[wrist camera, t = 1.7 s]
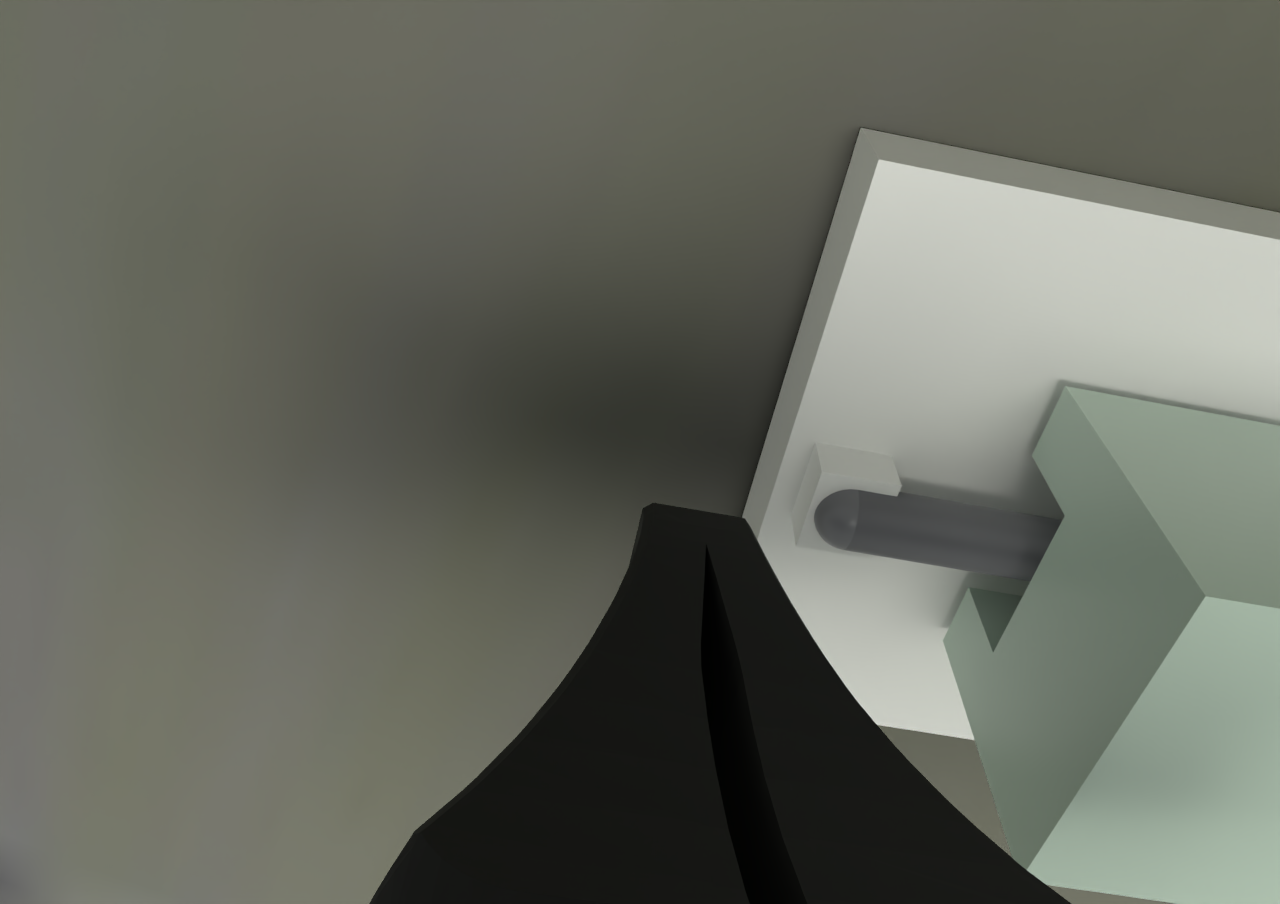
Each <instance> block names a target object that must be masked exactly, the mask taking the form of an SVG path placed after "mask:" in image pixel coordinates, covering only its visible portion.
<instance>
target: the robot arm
mask: <svg viewBox="0 0 1280 904" xmlns="http://www.w3.org/2000/svg"><path fill="white" fill-rule="evenodd" d="M370 904H1071V903H1070V902H1068V901H1067V900H1066V899H1064V898H1063V897H1062V896H1060V895H1059V894H1058V893H1056V892H1055V891H1054V890H1052V889H1051V888H1050V887H1048V886H1047V885H1046V884H1044V883H1043V882H1042V881H1040V880H1039V879H1038V878H1037V877H1035V876H1034V875H1033V874H1031V873H1030V872H1029V871H1027V870H1026V869H1025V868H1024V867H1022V866H1021V865H1020V864H1019V863H1017V862H1016V861H1015V860H1014V859H1013V858H1012V857H1010V856H1009V855H1008V854H1007V853H1006V852H1005V851H1003V850H1002V849H1001V848H1000V847H999V846H998V845H996V844H995V843H994V842H993V841H992V840H991V839H989V838H988V837H987V836H986V835H985V834H984V833H983V832H981V831H980V830H979V829H978V828H977V827H976V826H975V825H973V824H972V823H971V822H970V821H969V820H968V819H967V818H966V817H965V816H964V815H963V814H962V813H960V812H959V811H958V810H957V809H956V808H955V807H954V806H953V805H952V804H951V803H950V802H949V801H948V800H947V799H946V798H945V797H944V796H943V795H942V794H941V793H940V792H939V791H938V790H937V789H936V788H935V787H934V786H933V785H932V784H931V783H930V782H929V781H928V780H927V779H926V778H925V777H924V776H923V775H922V774H921V773H920V772H919V771H918V770H917V769H916V768H915V767H914V766H913V765H912V764H911V763H910V762H909V761H908V760H907V759H906V758H905V756H904V755H903V754H902V753H901V752H900V751H899V750H898V749H897V748H896V747H895V746H894V744H893V743H892V742H891V741H890V740H889V739H888V738H887V736H886V735H885V734H884V733H883V732H882V730H881V729H880V728H879V727H878V726H877V724H876V723H875V722H874V721H873V720H872V718H871V717H870V716H869V715H868V714H867V713H866V711H865V710H864V709H863V708H862V707H861V705H860V704H859V703H858V702H857V700H856V699H855V698H854V696H853V695H852V694H851V692H850V691H849V690H848V688H847V687H846V686H845V684H844V683H843V681H842V680H841V679H840V677H839V676H838V674H837V673H836V671H835V670H834V669H833V667H832V666H831V664H830V663H829V661H828V660H827V659H826V657H825V656H824V654H823V653H822V651H821V649H820V648H819V646H818V645H817V643H816V642H815V640H814V639H813V637H812V636H811V634H810V632H809V631H808V629H807V627H806V626H805V624H804V623H803V621H802V619H801V618H800V616H799V614H798V613H797V611H796V609H795V608H794V606H793V605H792V603H791V601H790V599H789V598H788V596H787V594H786V592H785V591H784V589H783V587H782V585H781V584H780V582H779V580H778V578H777V576H776V574H775V573H774V571H773V569H772V567H771V565H770V563H769V562H768V560H767V558H766V556H765V554H764V552H763V550H762V548H761V546H760V544H759V542H758V540H757V538H756V536H755V535H754V533H753V531H752V529H751V527H750V525H749V524H748V522H747V521H746V519H745V518H740V517H734V516H728V515H722V514H716V513H710V512H704V511H698V510H692V509H687V508H681V507H675V506H669V505H663V504H657V503H652V504H650V505H648V506H646V507H645V508H643V510H642V514H641V518H640V522H639V527H638V531H637V535H636V539H635V544H634V548H633V552H632V556H631V561H630V565H629V568H628V570H627V572H626V574H625V577H624V579H623V581H622V583H621V585H620V587H619V590H618V592H617V594H616V596H615V598H614V600H613V602H612V604H611V606H610V607H609V609H608V611H607V613H606V614H605V616H604V618H603V619H602V621H601V623H600V625H599V626H598V628H597V630H596V631H595V633H594V635H593V637H592V638H591V640H590V642H589V643H588V645H587V646H586V648H585V649H584V651H583V652H582V654H581V655H580V657H579V658H578V660H577V661H576V663H575V664H574V666H573V667H572V669H571V670H570V671H569V673H568V674H567V675H566V677H565V678H564V679H563V681H562V682H561V684H560V685H559V686H558V688H557V689H556V690H555V692H554V693H553V694H552V695H551V696H550V698H549V699H548V700H547V701H546V703H545V704H544V705H543V706H542V708H541V709H540V710H539V711H538V712H537V714H536V715H535V716H534V717H533V719H532V720H531V721H530V722H529V723H528V724H527V726H526V727H525V728H524V729H523V730H522V731H521V732H520V733H519V735H518V736H517V737H516V738H515V739H514V740H513V741H512V742H511V743H510V744H509V745H508V746H507V747H506V748H505V749H504V750H503V751H502V752H501V753H500V754H499V755H498V756H497V757H496V758H495V759H494V760H493V761H492V762H491V763H490V764H489V765H488V766H487V767H486V768H485V769H484V770H483V771H482V772H481V773H480V775H479V776H478V777H477V778H476V779H474V780H473V781H472V782H471V783H470V784H469V785H468V786H467V787H466V788H465V789H464V790H463V791H461V792H460V793H459V794H458V795H457V796H455V797H454V798H453V799H452V800H451V801H450V802H448V803H447V804H446V805H445V806H444V807H442V808H441V809H440V810H439V811H438V812H437V813H435V814H434V815H433V816H432V817H431V818H430V819H428V820H427V821H426V822H425V823H424V824H422V825H421V826H420V827H419V828H418V829H417V830H415V831H414V833H413V835H412V836H411V838H410V839H409V841H408V842H407V844H406V845H405V847H404V848H403V850H402V851H401V853H400V855H399V856H398V858H397V859H396V861H395V862H394V864H393V865H392V867H391V868H390V870H389V872H388V873H387V875H386V876H385V878H384V880H383V881H382V883H381V885H380V886H379V888H378V890H377V891H376V893H375V895H374V896H373V898H372V900H371V902H370Z"/></svg>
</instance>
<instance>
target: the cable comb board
mask: <svg viewBox="0 0 1280 904" xmlns="http://www.w3.org/2000/svg"><path fill="white" fill-rule="evenodd" d="M1065 386H1068V387H1073V388H1079V389H1084V390H1090V391H1095V392H1100V393H1106V394H1111V395H1116V396H1122V397H1127V398H1133V399H1138V400H1143V401H1149V402H1154V403H1160V404H1165V405H1170V406H1176V407H1181V408H1187V409H1192V410H1197V411H1203V412H1208V413H1214V414H1219V415H1224V416H1230V417H1235V418H1241V419H1246V420H1251V421H1257V422H1262V423H1268V424H1273V425H1278V426H1280V213H1279V212H1274V211H1269V210H1264V209H1259V208H1254V207H1250V206H1245V205H1240V204H1235V203H1230V202H1225V201H1220V200H1215V199H1210V198H1205V197H1200V196H1195V195H1190V194H1185V193H1181V192H1176V191H1171V190H1166V189H1161V188H1156V187H1151V186H1146V185H1141V184H1136V183H1131V182H1126V181H1121V180H1116V179H1112V178H1107V177H1102V176H1097V175H1092V174H1087V173H1082V172H1077V171H1072V170H1067V169H1062V168H1057V167H1052V166H1048V165H1043V164H1038V163H1033V162H1028V161H1023V160H1018V159H1013V158H1008V157H1003V156H998V155H993V154H988V153H983V152H979V151H974V150H969V149H964V148H959V147H954V146H949V145H944V144H939V143H934V142H929V141H924V140H919V139H914V138H910V137H905V136H900V135H895V134H890V133H885V132H880V131H875V130H870V129H865V128H860V131H859V135H858V138H857V141H856V144H855V148H854V151H853V154H852V158H851V161H850V164H849V167H848V171H847V174H846V177H845V181H844V184H843V187H842V190H841V194H840V197H839V200H838V204H837V207H836V210H835V213H834V217H833V220H832V223H831V227H830V230H829V233H828V236H827V240H826V243H825V246H824V249H823V253H822V256H821V259H820V263H819V266H818V269H817V272H816V276H815V279H814V282H813V286H812V289H811V292H810V295H809V299H808V302H807V305H806V309H805V312H804V315H803V318H802V322H801V325H800V328H799V332H798V335H797V338H796V341H795V345H794V348H793V351H792V355H791V358H790V361H789V364H788V368H787V371H786V374H785V378H784V381H783V384H782V387H781V391H780V394H779V397H778V401H777V404H776V407H775V410H774V414H773V417H772V420H771V424H770V427H769V430H768V433H767V437H766V440H765V443H764V447H763V450H762V453H761V456H760V460H759V463H758V466H757V470H756V473H755V476H754V479H753V483H752V486H751V489H750V492H749V496H748V499H747V502H746V506H745V509H744V512H743V515H742V518H745V519H746V521H747V522H748V524H749V525H750V527H751V529H752V531H753V533H754V535H755V536H756V538H757V540H758V542H759V544H760V546H761V548H762V550H763V552H764V554H765V556H766V558H767V560H768V562H769V563H770V565H771V567H772V569H773V571H774V573H775V574H776V576H777V578H778V580H779V582H780V584H781V585H782V587H783V589H784V591H785V592H786V594H787V596H788V598H789V599H790V601H791V603H792V605H793V606H794V608H795V609H796V611H797V613H798V614H799V616H800V618H801V619H802V621H803V623H804V624H805V626H806V627H807V629H808V631H809V632H810V634H811V636H812V637H813V639H814V640H815V642H816V643H817V645H818V646H819V648H820V649H821V651H822V653H823V654H824V656H825V657H826V659H827V660H828V661H829V663H830V664H831V666H832V667H833V669H834V670H835V671H836V673H837V674H838V676H839V677H840V679H841V680H842V681H843V683H844V684H845V686H846V687H847V688H848V690H849V691H850V692H851V694H852V695H853V696H854V698H855V699H856V700H857V702H858V703H859V704H860V705H861V707H862V708H863V709H864V710H865V711H866V713H867V714H868V715H869V716H870V717H871V718H872V720H873V721H874V722H875V723H876V724H877V725H881V726H888V727H894V728H901V729H907V730H914V731H920V732H926V733H933V734H939V735H946V736H952V737H958V738H965V739H971V740H974V736H973V733H972V730H971V727H970V724H969V721H968V718H967V715H966V711H965V708H964V705H963V702H962V699H961V696H960V693H959V690H958V686H957V683H956V680H955V677H954V674H953V671H952V668H951V665H950V661H949V658H948V655H947V652H946V649H945V646H944V643H943V639H944V637H945V635H946V633H947V631H948V629H949V627H950V625H951V623H952V620H953V618H954V616H955V614H956V612H957V610H958V608H959V606H960V604H961V602H962V600H963V598H964V595H965V593H966V591H967V589H968V587H971V588H977V589H983V590H989V591H995V592H1001V593H1007V594H1012V595H1018V596H1023V595H1024V593H1025V591H1026V589H1027V587H1028V585H1029V583H1030V581H1031V579H1032V577H1033V575H1034V574H1035V572H1036V570H1037V568H1038V566H1039V564H1040V562H1041V560H1042V558H1043V556H1044V554H1045V553H1046V551H1047V549H1048V547H1049V545H1050V543H1051V541H1052V539H1053V537H1054V535H1055V533H1056V531H1057V530H1058V528H1059V526H1060V524H1061V522H1062V520H1063V518H1064V516H1065V515H1064V513H1063V512H1062V510H1061V508H1060V506H1059V504H1058V502H1057V501H1056V499H1055V497H1054V495H1053V493H1052V491H1051V490H1050V488H1049V486H1048V484H1047V482H1046V481H1045V479H1044V477H1043V475H1042V473H1041V471H1040V470H1039V468H1038V466H1037V464H1036V462H1035V460H1034V459H1033V457H1032V454H1033V452H1034V450H1035V448H1036V446H1037V444H1038V441H1039V439H1040V437H1041V435H1042V433H1043V431H1044V429H1045V427H1046V425H1047V423H1048V421H1049V419H1050V417H1051V414H1052V412H1053V410H1054V408H1055V406H1056V404H1057V402H1058V400H1059V398H1060V396H1061V394H1062V392H1063V389H1064V387H1065Z"/></svg>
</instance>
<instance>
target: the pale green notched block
mask: <svg viewBox="0 0 1280 904" xmlns="http://www.w3.org/2000/svg"><path fill="white" fill-rule="evenodd" d="M1032 457H1033V459H1034V460H1035V462H1036V464H1037V466H1038V468H1039V470H1040V471H1041V473H1042V475H1043V477H1044V479H1045V481H1046V482H1047V484H1048V486H1049V488H1050V490H1051V491H1052V493H1053V495H1054V497H1055V499H1056V501H1057V502H1058V504H1059V506H1060V508H1061V510H1062V512H1063V513H1064V515H1065V516H1064V518H1063V520H1062V522H1061V524H1060V526H1059V528H1058V530H1057V531H1056V533H1055V535H1054V537H1053V539H1052V541H1051V543H1050V545H1049V547H1048V549H1047V551H1046V553H1045V554H1044V556H1043V558H1042V560H1041V562H1040V564H1039V566H1038V568H1037V570H1036V572H1035V574H1034V575H1033V577H1032V579H1031V581H1030V583H1029V585H1028V587H1027V589H1026V591H1025V593H1024V595H1023V596H1018V595H1012V594H1007V593H1001V592H995V591H989V590H983V589H977V588H971V587H968V589H967V591H966V593H965V595H964V598H963V600H962V602H961V604H960V606H959V608H958V610H957V612H956V614H955V616H954V618H953V620H952V623H951V625H950V627H949V629H948V631H947V633H946V635H945V637H944V639H943V643H944V646H945V649H946V652H947V655H948V658H949V661H950V665H951V668H952V671H953V674H954V677H955V680H956V683H957V686H958V690H959V693H960V696H961V699H962V702H963V705H964V708H965V711H966V715H967V718H968V721H969V724H970V727H971V730H972V733H973V736H974V740H975V743H976V746H977V749H978V752H979V755H980V758H981V761H982V764H983V768H984V771H985V774H986V777H987V780H988V783H989V786H990V789H991V793H992V796H993V799H994V802H995V805H996V808H997V811H998V814H999V818H1000V821H1001V824H1002V827H1003V830H1004V833H1005V836H1006V839H1007V843H1008V846H1009V849H1010V852H1011V855H1012V858H1013V859H1014V860H1015V861H1016V862H1017V863H1019V864H1020V865H1021V866H1022V867H1024V868H1025V869H1026V870H1027V871H1029V872H1030V873H1031V874H1033V875H1034V876H1035V877H1037V878H1038V879H1039V880H1040V881H1042V882H1043V883H1044V884H1046V885H1052V886H1059V887H1066V888H1073V889H1079V890H1086V891H1093V892H1100V893H1107V894H1114V895H1121V896H1128V897H1135V898H1142V899H1148V900H1155V901H1162V902H1169V903H1176V904H1280V426H1278V425H1273V424H1268V423H1262V422H1257V421H1251V420H1246V419H1241V418H1235V417H1230V416H1224V415H1219V414H1214V413H1208V412H1203V411H1197V410H1192V409H1187V408H1181V407H1176V406H1170V405H1165V404H1160V403H1154V402H1149V401H1143V400H1138V399H1133V398H1127V397H1122V396H1116V395H1111V394H1106V393H1100V392H1095V391H1090V390H1084V389H1079V388H1073V387H1068V386H1065V387H1064V389H1063V392H1062V394H1061V396H1060V398H1059V400H1058V402H1057V404H1056V406H1055V408H1054V410H1053V412H1052V414H1051V417H1050V419H1049V421H1048V423H1047V425H1046V427H1045V429H1044V431H1043V433H1042V435H1041V437H1040V439H1039V441H1038V444H1037V446H1036V448H1035V450H1034V452H1033V454H1032Z"/></svg>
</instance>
